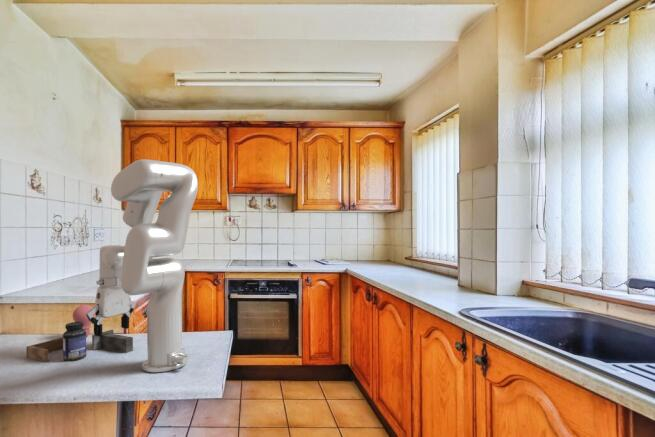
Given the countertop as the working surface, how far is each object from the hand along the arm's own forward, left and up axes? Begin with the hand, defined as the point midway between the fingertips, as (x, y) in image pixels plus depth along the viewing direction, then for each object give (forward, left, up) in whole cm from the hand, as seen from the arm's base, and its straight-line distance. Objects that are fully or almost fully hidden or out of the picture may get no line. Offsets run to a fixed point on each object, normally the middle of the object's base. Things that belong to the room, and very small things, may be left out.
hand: (112, 331), depth 130 cm
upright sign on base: (-1, 0, -6) cm, 6 cm away
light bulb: (+23, -5, -6) cm, 24 cm away
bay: (+12, +11, -6) cm, 17 cm away
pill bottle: (+2, +11, -6) cm, 13 cm away
